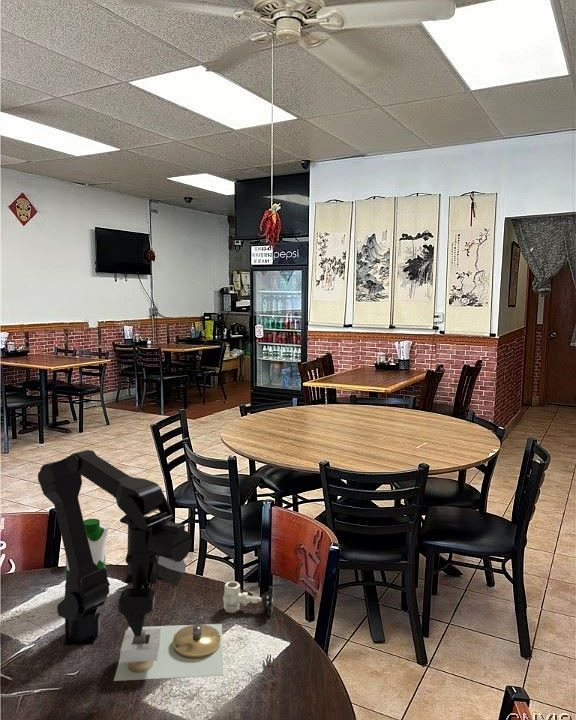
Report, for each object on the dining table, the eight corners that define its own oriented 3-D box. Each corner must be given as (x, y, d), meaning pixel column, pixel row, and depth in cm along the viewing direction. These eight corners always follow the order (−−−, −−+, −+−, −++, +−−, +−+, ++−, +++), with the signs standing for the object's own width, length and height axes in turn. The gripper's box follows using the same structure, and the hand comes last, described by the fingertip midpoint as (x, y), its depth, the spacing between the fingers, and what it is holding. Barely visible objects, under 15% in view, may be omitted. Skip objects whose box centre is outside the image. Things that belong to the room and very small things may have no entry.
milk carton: (80, 611, 131) (80, 529, 129) (58, 598, 136) (58, 519, 135) (111, 596, 138) (112, 519, 136) (89, 585, 143) (90, 510, 142)
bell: (171, 660, 114) (171, 642, 113) (174, 631, 124) (175, 615, 123) (220, 657, 115) (220, 640, 115) (219, 630, 125) (220, 613, 125)
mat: (113, 682, 107) (113, 680, 107) (128, 629, 125) (128, 627, 125) (223, 677, 110) (223, 675, 110) (221, 625, 127) (222, 623, 127)
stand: (126, 673, 109) (126, 639, 108) (129, 657, 114) (130, 625, 113) (152, 672, 110) (152, 638, 109) (154, 656, 115) (155, 624, 114)
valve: (220, 617, 131) (270, 621, 130) (221, 591, 130) (272, 594, 130) (225, 603, 137) (273, 606, 137) (226, 577, 137) (274, 580, 136)
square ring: (120, 662, 108) (120, 650, 107) (125, 641, 115) (126, 630, 114) (156, 660, 109) (157, 649, 108) (160, 639, 116) (160, 628, 115)
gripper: (181, 568, 102) (178, 649, 103) (186, 528, 120) (184, 596, 121) (118, 570, 100) (117, 651, 102) (133, 528, 118) (132, 598, 120)
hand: (141, 622), depth 111 cm, fingers open, 9 cm apart
